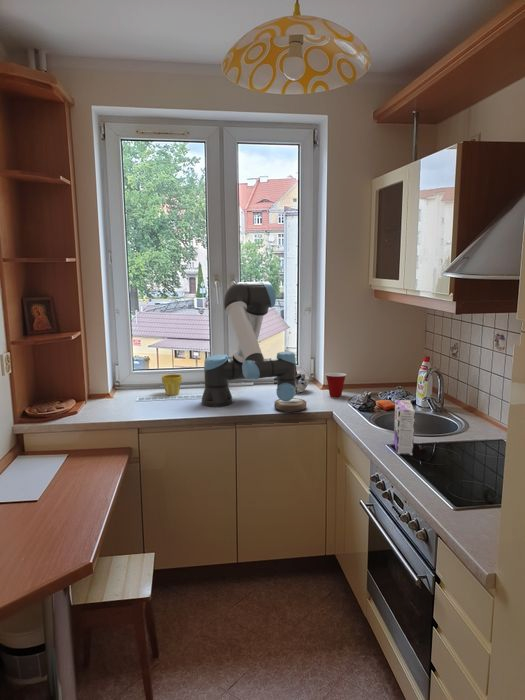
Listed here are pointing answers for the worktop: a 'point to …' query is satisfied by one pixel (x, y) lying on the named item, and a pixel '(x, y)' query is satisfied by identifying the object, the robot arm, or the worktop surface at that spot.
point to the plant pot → (172, 383)
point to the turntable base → (290, 411)
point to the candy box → (404, 427)
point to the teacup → (303, 387)
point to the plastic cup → (335, 383)
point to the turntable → (290, 404)
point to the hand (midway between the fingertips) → (291, 373)
